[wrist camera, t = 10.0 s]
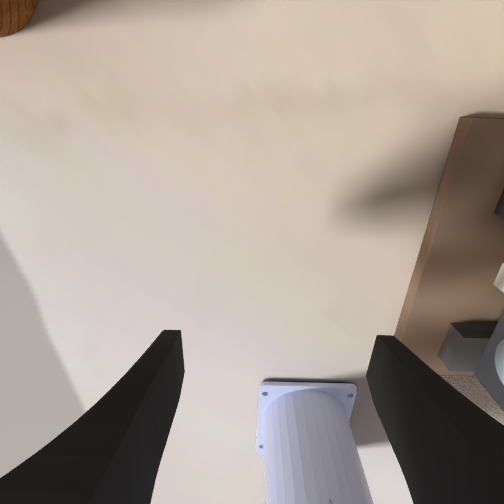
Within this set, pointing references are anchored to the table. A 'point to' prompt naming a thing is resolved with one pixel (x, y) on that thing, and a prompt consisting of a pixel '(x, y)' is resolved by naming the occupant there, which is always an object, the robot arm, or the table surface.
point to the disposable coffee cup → (15, 15)
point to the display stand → (460, 256)
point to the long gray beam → (493, 364)
